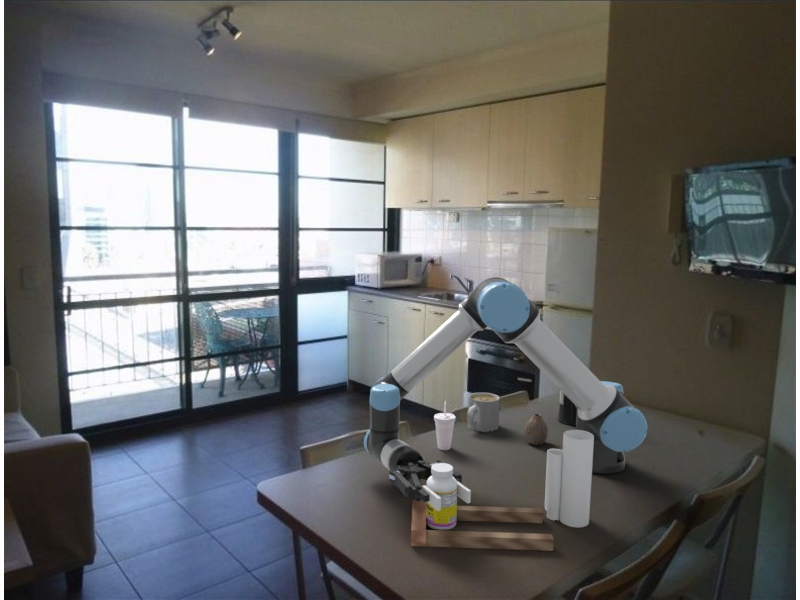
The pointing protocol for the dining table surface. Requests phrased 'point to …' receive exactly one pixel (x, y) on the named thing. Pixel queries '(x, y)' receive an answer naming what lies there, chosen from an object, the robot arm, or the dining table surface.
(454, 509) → the supplement bottle
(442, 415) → the smoothie
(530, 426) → the vase
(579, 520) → the white joined tall cylinders
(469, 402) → the coffee mug
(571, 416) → the milk frother
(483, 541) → the channel
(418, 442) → the dining table surface
